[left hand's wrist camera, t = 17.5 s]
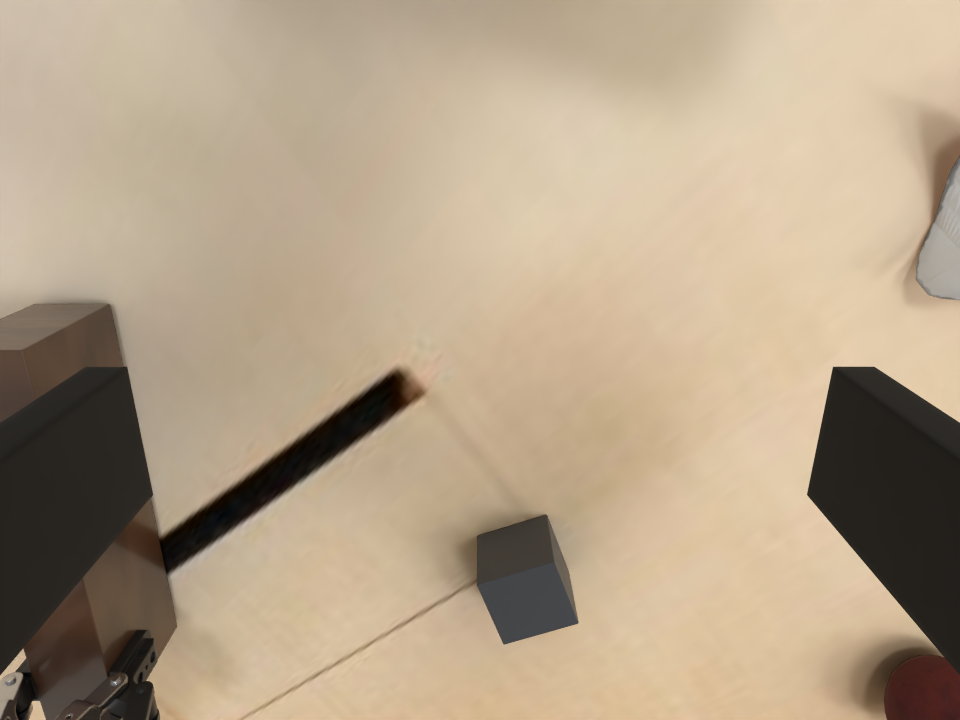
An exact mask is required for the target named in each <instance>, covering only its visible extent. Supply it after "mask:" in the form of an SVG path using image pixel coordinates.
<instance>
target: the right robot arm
mask: <svg viewBox="0 0 960 720" xmlns="http://www.w3.org/2000/svg"><path fill="white" fill-rule="evenodd" d="M157 659H158V654H157V650H156V645H155V641H154V638H152V635H151V631H150V630H137V631H136V632H135V633H134V635H133V636H132V638H131V639H130V641H129V642H128V644H127V645H126V647H125V648H124V650H123V651H122V653H121V654H120V656H119V657H118V659H117V660H116V662H115V663H114V665H113V666H112V668H111V669H110V671H109V677H108V678H107V679H106V680H105V681H104V682H103V683H102V684H101V685H100V686H99V687H97V688H96V689H95V690H94V691H93V692H92V693H91V694H90V695H89V696H88V697H87V698H86V699H84V700H79V699H77V700H75V701H73V702H72V703H71V704H70V705H69V706H68V707H67V708H66V709H65V710H64V711H63V712H61V713H60V714H59V715H58V716H57V717H56V718H55V719H54V720H160V714H159V710H158V709H157V705H156V701H155V697H154V688H153V684H152V683H151V682H149V681H146V680H147V678H148V676H149V675H150V673H151V671H152V670H153V668H154V666H155V665H156V663H157ZM32 701H40V699H39V696H38V693H37V690H36V686H35V683H34V680H33V677H32V674H31V671H30V668H29V664H28V661H27V658H26V659H25V661H24V662H23V663H22V664H21V666H20V667H19V668H18V669H17V670H16V672H15V673H11V674H9V675H7V676H5V677H4V678H2V679H1V680H0V720H29V718H30V715H31V712H32V710H33V705H32ZM107 707H109V709H108V710H107V711H106V712H105V713H104V714H103V715H102V716H101V714H102V713H103V711H104V710H105V709H106V708H107Z"/></svg>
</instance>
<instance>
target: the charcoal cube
mask: <svg viewBox="0 0 960 720" xmlns="http://www.w3.org/2000/svg"><path fill="white" fill-rule="evenodd" d="M477 586H478V588H479V591H480V593H481V595H482V597H483V600H484V602H485V604H486V606H487V608H488V611H489V613H490V615H491V617H492V620H493V622H494V624H495V626H496V629H497V631H498V633H499V635H500V637H501V640H502V642H503V644H508V643H511V642H515V641H518V640H522V639H525V638H529V637H532V636H536V635H539V634H543V633H547V632H550V631H554V630H557V629H561V628H564V627H568V626H571V625H575V624H578V617H577V612H576V607H575V602H574V597H573V591H572V586H571V581H570V576H569V571H568V568H567V566H566V563H565V561H564V558H563V555H562V553H561V550H560V548H559V545H558V542H557V540H556V537H555V535H554V532H553V529H552V527H551V524H550V522H549V519H548V516H547V515H544V516H541V517H538V518H534V519H531V520H528V521H525V522H521V523H518V524H515V525H512V526H508V527H505V528H502V529H499V530H495V531H492V532H489V533H485V534H482V535H479V536H477Z"/></svg>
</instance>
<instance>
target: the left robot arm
mask: <svg viewBox="0 0 960 720" xmlns="http://www.w3.org/2000/svg"><path fill="white" fill-rule="evenodd" d="M152 495H153V493H152V488H151V483H150V478H149V473H148V468H147V463H146V458H145V454H144V449H143V444H142V439H141V434H140V429H139V424H138V419H137V414H136V409H135V404H134V399H133V394H132V390H131V385H130V380H129V375H128V370H127V367H85V368H83V369H82V370H80V371H79V372H77V373H76V374H74V375H72V376H71V377H69V378H68V379H66V380H65V381H63V382H62V383H60V384H59V385H57V386H56V387H54V388H53V389H51V390H50V391H48V392H47V393H45V394H44V395H42V396H40V397H39V398H37V399H36V400H34V401H33V402H31V403H30V404H28V405H27V406H25V407H24V408H22V409H21V410H19V411H18V412H16V413H15V414H13V415H12V416H10V417H8V418H7V419H5V420H4V421H2V422H1V423H0V675H1V674H2V673H3V671H4V670H5V669H6V668H7V667H8V665H9V664H10V663H11V662H12V661H13V660H14V658H15V657H16V656H17V655H18V654H19V652H20V651H21V650H22V649H23V648H24V647H25V645H26V644H27V643H28V642H29V641H30V639H31V638H32V637H33V636H34V635H35V634H36V632H37V631H38V630H39V629H40V628H41V626H42V625H43V624H44V623H45V622H46V621H47V619H48V618H49V617H50V616H51V615H52V613H53V612H54V611H55V610H56V609H57V608H58V606H59V605H60V604H61V603H62V602H63V600H64V599H65V598H66V597H67V596H68V595H69V593H70V592H71V591H72V590H73V589H74V587H75V586H76V585H77V584H78V583H79V582H80V580H81V579H82V578H83V577H84V576H85V574H86V573H87V572H88V571H89V570H90V569H91V567H92V566H93V565H94V564H95V563H96V561H97V560H98V559H99V558H100V557H101V556H102V554H103V553H104V552H105V551H106V550H107V548H108V547H109V546H110V545H111V544H112V543H113V541H114V540H115V539H116V538H117V537H118V535H119V534H120V533H121V532H122V531H123V530H124V528H125V527H126V526H127V525H128V524H129V522H130V521H131V520H132V519H133V518H134V517H135V515H136V514H137V513H138V512H139V511H140V509H141V508H142V507H143V506H144V505H145V504H146V502H147V501H148V500H149V499H150V498H151V496H152ZM807 495H808V496H809V498H810V499H811V500H812V501H813V502H814V504H815V505H816V506H817V507H818V508H819V509H820V511H821V512H822V513H823V514H824V515H825V517H826V518H827V519H828V520H829V521H830V522H831V524H832V525H833V526H834V527H835V528H836V530H837V531H838V532H839V533H840V534H841V535H842V537H843V538H844V539H845V540H846V541H847V543H848V544H849V545H850V546H851V547H852V548H853V550H854V551H855V552H856V553H857V554H858V556H859V557H860V558H861V559H862V560H863V561H864V563H865V564H866V565H867V566H868V567H869V569H870V570H871V571H872V572H873V573H874V574H875V576H876V577H877V578H878V579H879V580H880V582H881V583H882V584H883V585H884V586H885V587H886V589H887V590H888V591H889V592H890V593H891V595H892V596H893V597H894V598H895V599H896V600H897V602H898V603H899V604H900V605H901V606H902V608H903V609H904V610H905V611H906V612H907V613H908V615H909V616H910V617H911V618H912V619H913V621H914V622H915V623H916V624H917V625H918V626H919V628H920V629H921V630H922V631H923V632H924V634H925V635H926V636H927V637H928V638H929V639H930V641H931V642H932V643H933V644H934V645H935V647H936V648H937V649H938V650H939V651H940V652H941V654H942V655H943V656H944V657H945V658H946V660H947V661H948V662H949V663H950V664H951V665H952V667H953V668H954V669H955V670H956V671H957V673H958V674H959V675H960V423H959V422H958V421H956V420H955V419H953V418H952V417H950V416H948V415H947V414H945V413H944V412H942V411H941V410H939V409H938V408H936V407H935V406H933V405H932V404H930V403H929V402H927V401H926V400H924V399H923V398H921V397H920V396H918V395H916V394H915V393H913V392H912V391H910V390H909V389H907V388H906V387H904V386H903V385H901V384H900V383H898V382H897V381H895V380H894V379H892V378H891V377H889V376H888V375H886V374H884V373H883V372H881V371H880V370H878V369H877V368H875V367H833V370H832V375H831V380H830V385H829V390H828V394H827V399H826V404H825V409H824V414H823V419H822V424H821V429H820V434H819V439H818V444H817V449H816V453H815V458H814V463H813V468H812V473H811V478H810V483H809V488H808V493H807Z"/></svg>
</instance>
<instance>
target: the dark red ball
mask: <svg viewBox="0 0 960 720" xmlns="http://www.w3.org/2000/svg"><path fill="white" fill-rule="evenodd" d="M884 704H885V713H886V717H887V720H960V675H959V674H958V673H957V671H956V670H955V669H954V668H953V667H952V665H951V664H950V663H949V662H948V661H947V660H946V658H944V657H940V656H935V655H920V656H916V657H913V658H910V659H907V660H906V661H904V662H903V663H901V664H900V665H898V667H897V668H896V669H895V670H894V671H893V672H892V674H891V677H890V679H889V682H888V684H887V686H886V689H885V696H884Z"/></svg>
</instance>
